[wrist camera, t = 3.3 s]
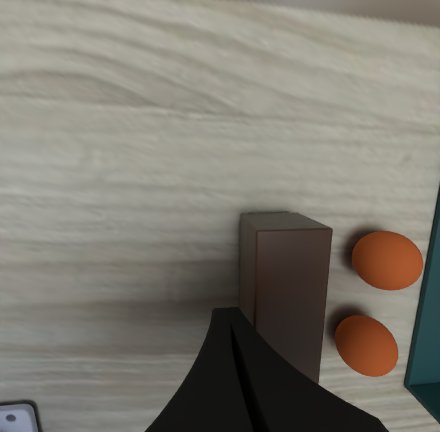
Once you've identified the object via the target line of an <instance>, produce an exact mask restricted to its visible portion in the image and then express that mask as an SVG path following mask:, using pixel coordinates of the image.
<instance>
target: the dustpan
mask: <svg viewBox="0 0 440 432" xmlns="http://www.w3.org/2000/svg"><path fill="white" fill-rule="evenodd" d="M404 386H405V387H406V388H407V389H408V390H409V392H410V393H411V394H412V395H413V396H414V397H415V398H416V399H417V400H418V401H419V402H420V403H421V404H422V405H423V407H424V408H425V409H426V410H427V411H428V412H429V413H430V414H431V415H432V416H433V417H434V418H435V419H436V420H437V422H438V423H439V424H440V192H439V197H438V203H437V208H436V214H435V219H434V225H433V230H432V236H431V241H430V247H429V252H428V258H427V263H426V269H425V274H424V280H423V285H422V291H421V296H420V302H419V307H418V313H417V318H416V324H415V329H414V335H413V340H412V346H411V351H410V357H409V362H408V368H407V374H406V379H405V385H404Z"/></svg>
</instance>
